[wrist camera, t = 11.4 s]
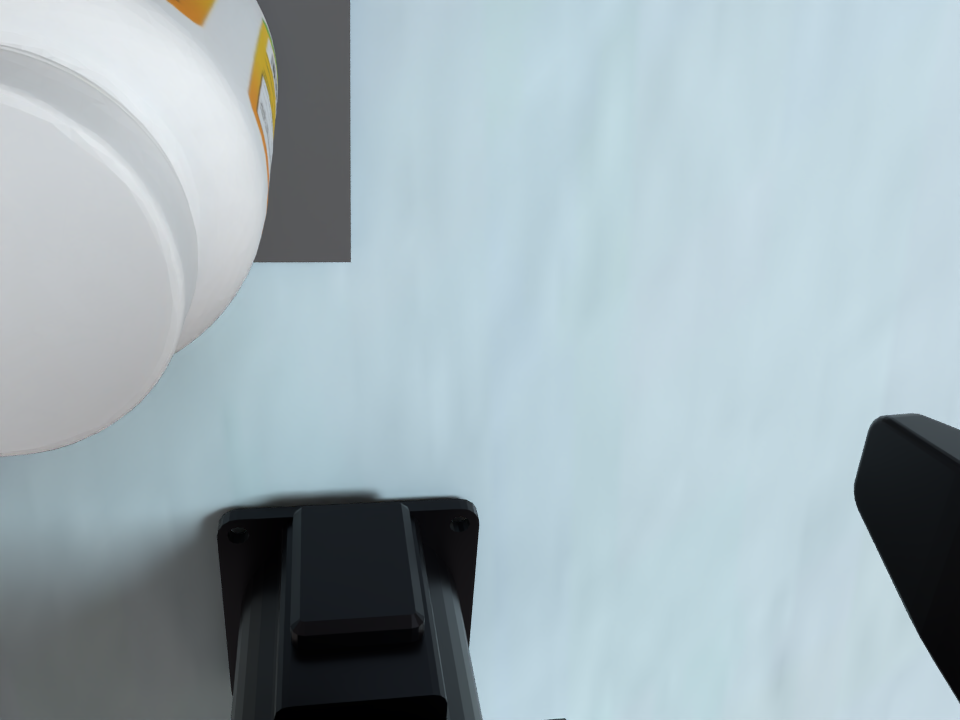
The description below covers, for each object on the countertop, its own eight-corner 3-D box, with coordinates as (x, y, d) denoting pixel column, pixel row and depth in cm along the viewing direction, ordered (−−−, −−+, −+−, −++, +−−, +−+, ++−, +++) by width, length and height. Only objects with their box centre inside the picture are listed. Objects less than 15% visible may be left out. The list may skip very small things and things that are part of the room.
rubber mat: (349, 251, 20) (350, 262, 19) (-49, 251, 19) (-59, 262, 18) (348, -173, 16) (349, -173, 16) (-155, -212, 15) (-171, -214, 14)
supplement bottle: (-104, 4, 16) (-560, 194, 7) (157, -165, 15) (-19, -161, 7) (105, 251, 18) (-56, 593, 10) (333, 116, 18) (360, 361, 10)
